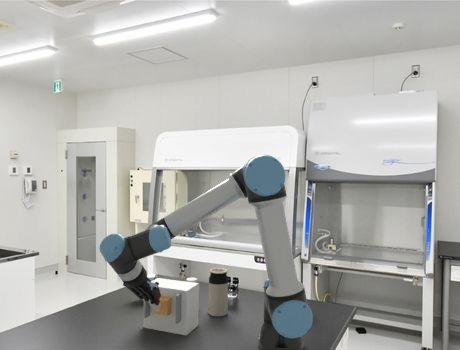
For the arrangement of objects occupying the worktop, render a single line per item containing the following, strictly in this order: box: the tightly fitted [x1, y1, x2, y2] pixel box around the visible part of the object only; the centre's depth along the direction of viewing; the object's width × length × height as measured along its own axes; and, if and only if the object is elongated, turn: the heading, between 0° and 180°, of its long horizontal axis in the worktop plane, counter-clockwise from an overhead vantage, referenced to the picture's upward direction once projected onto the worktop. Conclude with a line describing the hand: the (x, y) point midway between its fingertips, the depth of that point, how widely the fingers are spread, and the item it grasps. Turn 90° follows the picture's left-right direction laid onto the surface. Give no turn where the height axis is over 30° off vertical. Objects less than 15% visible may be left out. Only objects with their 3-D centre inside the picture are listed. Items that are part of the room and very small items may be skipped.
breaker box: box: [142, 277, 200, 336], centre depth 140 cm, size 13×18×16 cm
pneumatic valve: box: [141, 272, 159, 301], centre depth 170 cm, size 6×12×12 cm, turn 93°
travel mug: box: [208, 267, 229, 318], centre depth 155 cm, size 8×8×18 cm
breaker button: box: [154, 296, 172, 316], centre depth 137 cm, size 7×6×6 cm
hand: (158, 307), depth 133 cm, fingers closed
